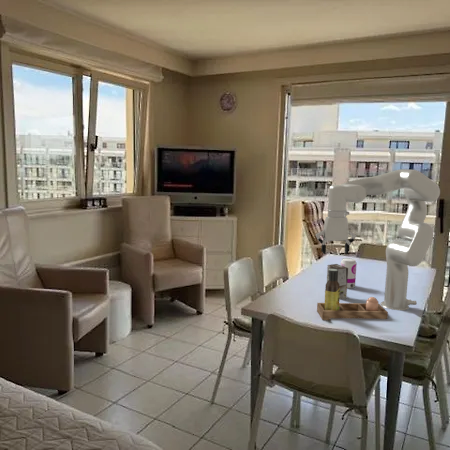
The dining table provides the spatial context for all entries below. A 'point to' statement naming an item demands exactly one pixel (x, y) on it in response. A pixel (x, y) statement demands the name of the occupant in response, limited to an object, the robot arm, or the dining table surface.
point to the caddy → (351, 311)
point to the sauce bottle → (332, 291)
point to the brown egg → (372, 304)
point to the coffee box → (340, 278)
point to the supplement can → (350, 271)
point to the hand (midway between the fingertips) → (335, 253)
